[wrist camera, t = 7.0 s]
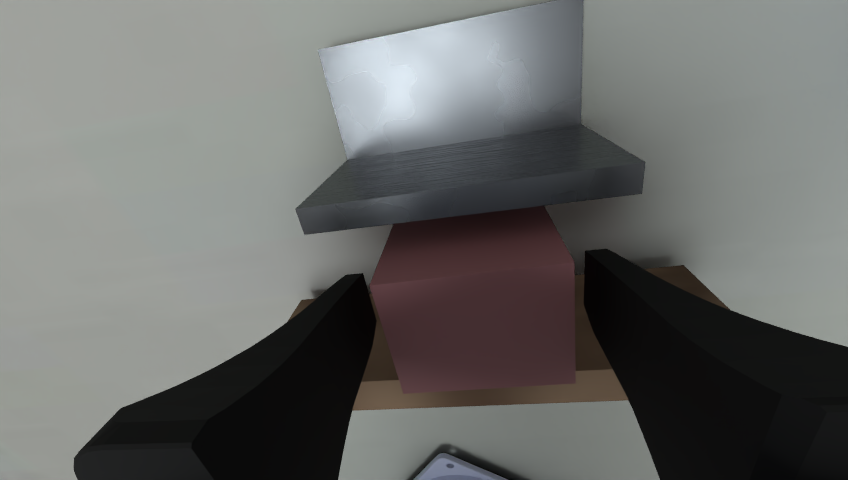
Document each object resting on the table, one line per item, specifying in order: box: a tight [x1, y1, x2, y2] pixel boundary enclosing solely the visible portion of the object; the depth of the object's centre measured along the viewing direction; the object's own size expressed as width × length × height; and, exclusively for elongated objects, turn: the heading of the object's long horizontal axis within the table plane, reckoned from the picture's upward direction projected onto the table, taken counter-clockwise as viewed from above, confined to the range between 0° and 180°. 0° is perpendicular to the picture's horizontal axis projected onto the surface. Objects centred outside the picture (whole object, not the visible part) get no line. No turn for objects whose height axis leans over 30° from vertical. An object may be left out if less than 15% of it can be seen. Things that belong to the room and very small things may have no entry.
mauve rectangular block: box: [369, 206, 576, 394], centre depth 13 cm, size 5×4×7 cm
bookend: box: [296, 0, 645, 235], centre depth 11 cm, size 9×5×6 cm, turn 100°
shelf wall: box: [288, 265, 730, 410], centre depth 15 cm, size 18×2×6 cm, turn 100°
